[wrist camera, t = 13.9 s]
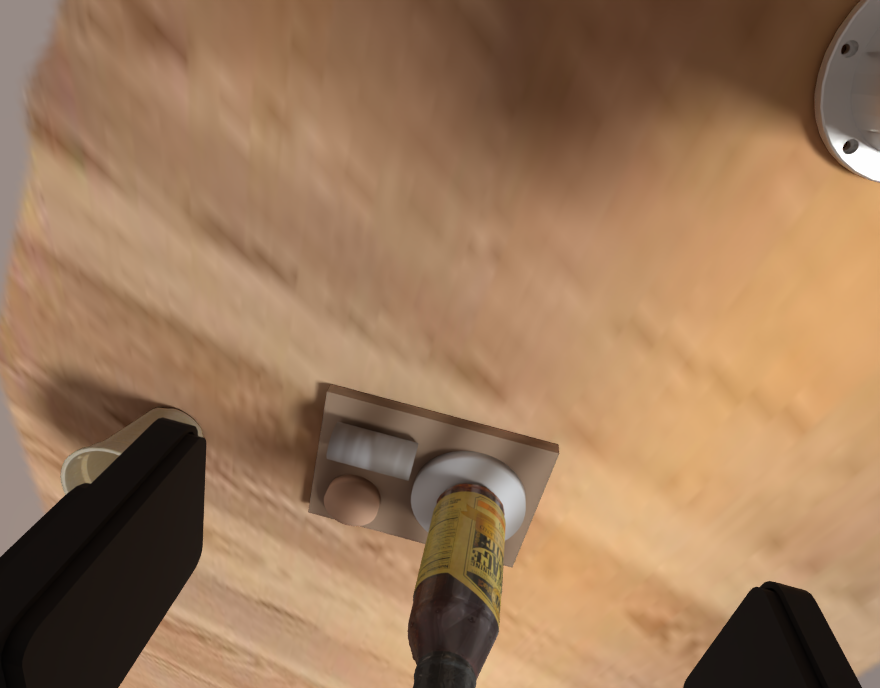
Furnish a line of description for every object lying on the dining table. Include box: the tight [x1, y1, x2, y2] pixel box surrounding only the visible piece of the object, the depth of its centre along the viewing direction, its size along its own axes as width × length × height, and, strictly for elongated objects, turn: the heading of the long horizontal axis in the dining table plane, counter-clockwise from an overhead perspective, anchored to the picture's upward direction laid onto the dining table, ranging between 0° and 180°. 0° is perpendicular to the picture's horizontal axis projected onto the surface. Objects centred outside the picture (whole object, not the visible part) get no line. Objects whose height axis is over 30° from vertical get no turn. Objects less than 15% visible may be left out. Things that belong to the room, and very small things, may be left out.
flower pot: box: [61, 408, 203, 494], centre depth 50 cm, size 9×9×9 cm
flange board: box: [308, 384, 559, 567], centre depth 50 cm, size 20×14×4 cm
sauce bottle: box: [408, 483, 506, 688], centre depth 41 cm, size 6×6×20 cm
